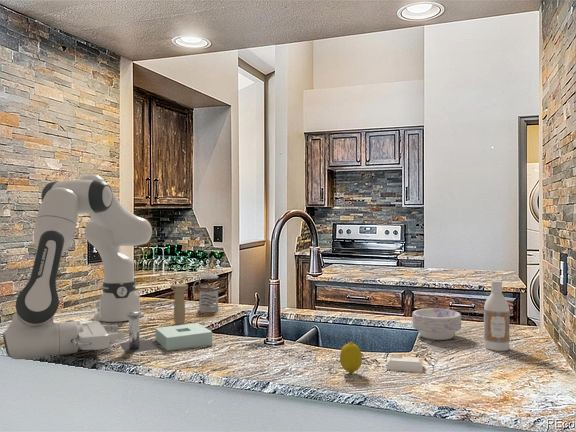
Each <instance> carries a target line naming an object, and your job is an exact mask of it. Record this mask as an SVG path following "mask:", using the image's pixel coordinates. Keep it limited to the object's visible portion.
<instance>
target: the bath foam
mask: <svg viewBox="0 0 576 432" xmlns="http://www.w3.org/2000/svg"><path fill="white" fill-rule="evenodd" d="M490 282H491V283H490V284H491V285H490V287H491V288H490V289H491V292H490V295H488V297H487V298H486V299H485V302H484V306H483V307H484V308H483V340H484V341H483V343H484V344H483V345H484V348H486V349H487V350H490V351H494V352H495V351H496V352H505V351H508V350H510V341H511V340H510V306H509V302H508V300H507V299H506V297H505V296H504V295H503V281H502V280H497V279H496V280H495V279H494V280H491V281H490Z"/></svg>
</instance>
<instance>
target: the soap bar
mask: <svg viewBox="0 0 576 432" xmlns="http://www.w3.org/2000/svg"><path fill="white" fill-rule="evenodd" d="M423 367H424V364H423V360H422V359H421V358H420V357H412V356H411V357H410V356H395V355H390V356H389V357H387V359H386V370H388V371H389V370H391V371H401V372H402V371H403V372H417V373H418V372H419V373H423V372H424V368H423Z"/></svg>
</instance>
